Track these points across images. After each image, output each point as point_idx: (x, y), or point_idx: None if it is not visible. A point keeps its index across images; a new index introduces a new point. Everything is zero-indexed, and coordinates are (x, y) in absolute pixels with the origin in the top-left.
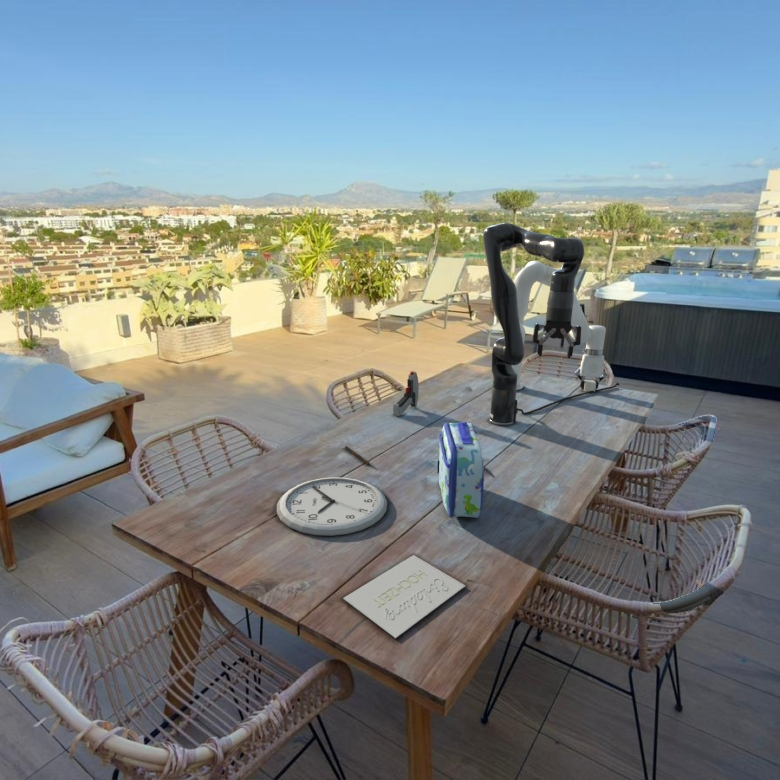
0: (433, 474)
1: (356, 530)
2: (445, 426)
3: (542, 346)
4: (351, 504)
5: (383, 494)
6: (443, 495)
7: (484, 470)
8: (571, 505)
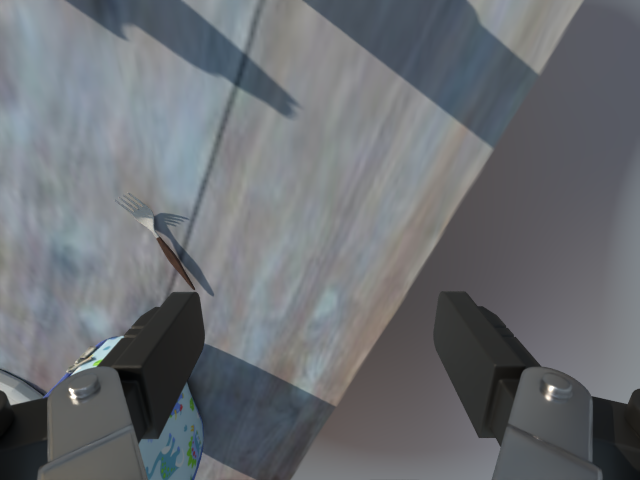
0: (90, 305)
1: None
2: None
3: (160, 426)
4: None
5: (38, 398)
6: None
7: (186, 281)
8: (350, 362)
